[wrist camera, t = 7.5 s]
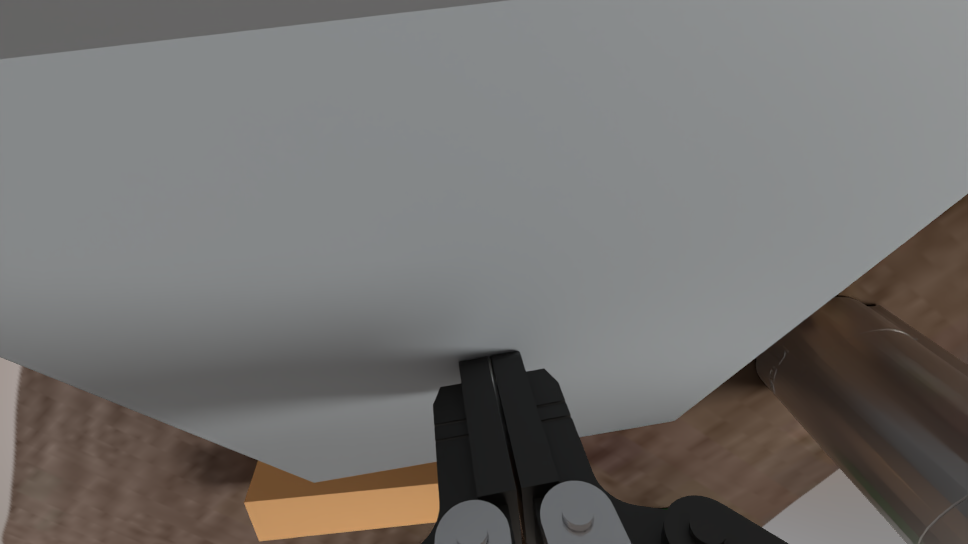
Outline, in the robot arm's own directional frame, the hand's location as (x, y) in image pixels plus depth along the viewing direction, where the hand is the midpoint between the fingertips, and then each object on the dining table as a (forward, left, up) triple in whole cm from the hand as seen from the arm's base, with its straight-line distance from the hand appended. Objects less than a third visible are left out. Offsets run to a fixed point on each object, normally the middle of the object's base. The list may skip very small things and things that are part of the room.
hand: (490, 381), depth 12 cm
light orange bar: (+10, +22, -17) cm, 30 cm away
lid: (0, 0, -2) cm, 2 cm away
